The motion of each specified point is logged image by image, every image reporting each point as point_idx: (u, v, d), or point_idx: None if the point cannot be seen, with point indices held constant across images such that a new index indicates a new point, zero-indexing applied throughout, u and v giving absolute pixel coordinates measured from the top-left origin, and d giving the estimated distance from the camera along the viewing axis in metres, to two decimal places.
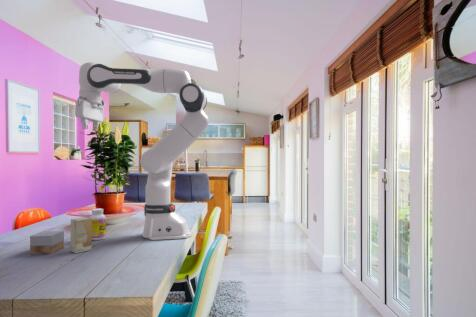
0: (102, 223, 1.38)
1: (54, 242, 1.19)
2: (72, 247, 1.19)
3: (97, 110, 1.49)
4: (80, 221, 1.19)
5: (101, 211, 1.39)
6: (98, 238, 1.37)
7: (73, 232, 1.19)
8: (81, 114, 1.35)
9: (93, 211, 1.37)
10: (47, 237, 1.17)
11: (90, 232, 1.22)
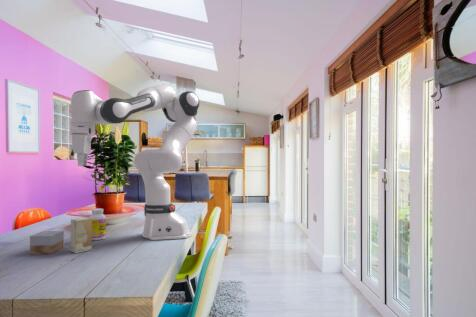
0: (102, 223, 1.38)
1: (54, 242, 1.19)
2: (72, 247, 1.19)
3: None
4: (80, 221, 1.19)
5: (101, 211, 1.39)
6: (98, 238, 1.37)
7: (73, 232, 1.19)
8: None
9: (93, 211, 1.37)
10: (47, 237, 1.18)
11: (90, 232, 1.22)
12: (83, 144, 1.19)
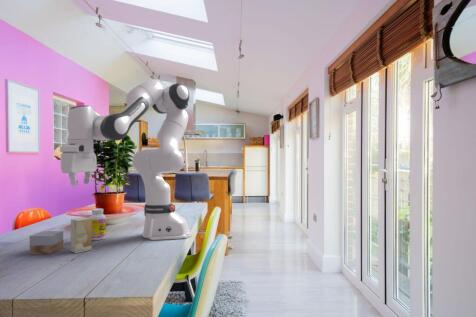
0: (102, 223, 1.38)
1: (54, 242, 1.19)
2: (72, 247, 1.19)
3: None
4: (80, 221, 1.19)
5: (101, 211, 1.39)
6: (98, 238, 1.37)
7: (73, 232, 1.19)
8: None
9: (93, 211, 1.37)
10: (47, 237, 1.18)
11: (90, 232, 1.22)
12: (71, 163, 1.11)
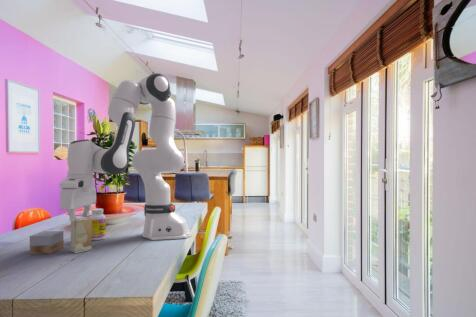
0: (102, 223, 1.38)
1: (54, 242, 1.19)
2: (72, 247, 1.19)
3: None
4: (80, 221, 1.19)
5: (101, 211, 1.39)
6: (98, 238, 1.37)
7: (73, 232, 1.19)
8: None
9: (93, 211, 1.37)
10: (47, 237, 1.18)
11: (90, 232, 1.22)
12: (70, 200, 1.11)
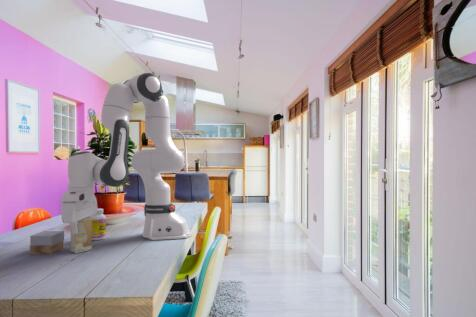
0: (102, 223, 1.38)
1: (54, 242, 1.19)
2: (72, 247, 1.19)
3: None
4: (80, 221, 1.19)
5: (101, 211, 1.39)
6: (98, 238, 1.37)
7: None
8: None
9: None
10: (47, 237, 1.18)
11: (90, 232, 1.22)
12: (71, 214, 1.11)
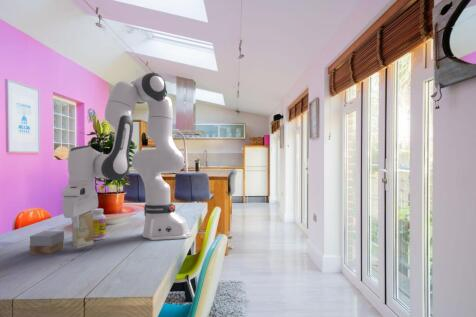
0: (102, 223, 1.38)
1: (54, 242, 1.19)
2: (74, 242, 1.20)
3: None
4: (81, 216, 1.19)
5: (101, 211, 1.39)
6: (98, 238, 1.37)
7: None
8: None
9: (93, 211, 1.37)
10: (47, 237, 1.17)
11: (91, 226, 1.22)
12: (72, 208, 1.12)
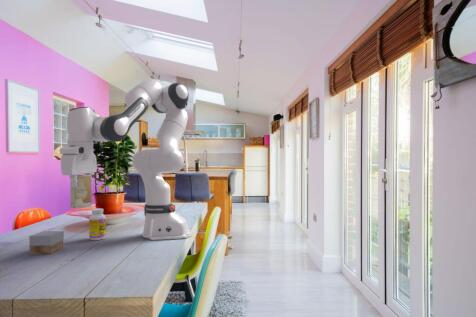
0: (102, 223, 1.38)
1: (53, 242, 1.19)
2: (72, 203, 1.19)
3: None
4: (79, 176, 1.19)
5: (101, 211, 1.39)
6: (98, 238, 1.37)
7: (72, 188, 1.19)
8: None
9: (93, 211, 1.37)
10: (46, 237, 1.17)
11: (90, 188, 1.22)
12: (71, 165, 1.11)
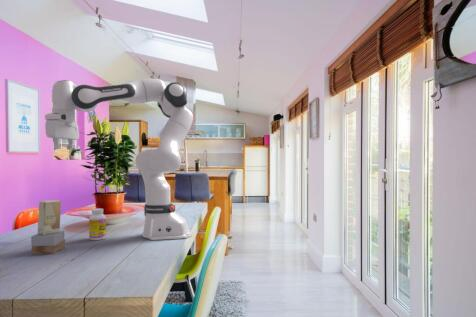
0: (102, 223, 1.38)
1: (56, 242, 1.19)
2: (40, 229, 1.19)
3: None
4: (49, 203, 1.20)
5: (101, 211, 1.39)
6: (98, 238, 1.37)
7: (41, 214, 1.19)
8: None
9: (93, 211, 1.37)
10: (50, 237, 1.17)
11: (59, 214, 1.23)
12: (54, 129, 1.31)
